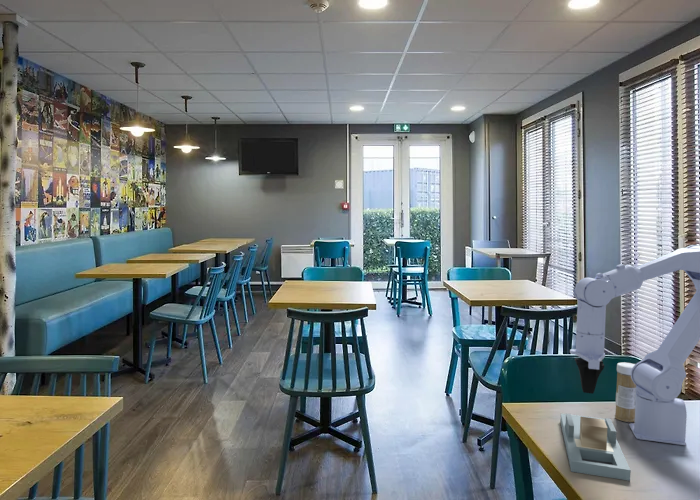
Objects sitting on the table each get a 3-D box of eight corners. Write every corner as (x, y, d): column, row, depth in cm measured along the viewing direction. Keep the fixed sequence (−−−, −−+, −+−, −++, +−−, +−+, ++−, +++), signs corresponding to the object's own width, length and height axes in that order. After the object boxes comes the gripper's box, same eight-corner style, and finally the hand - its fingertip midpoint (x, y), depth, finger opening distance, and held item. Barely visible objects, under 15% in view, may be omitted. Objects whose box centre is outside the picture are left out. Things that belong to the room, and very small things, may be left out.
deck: (607, 427, 116) (607, 408, 116) (630, 480, 92) (631, 456, 92) (560, 421, 119) (561, 403, 119) (571, 471, 95) (572, 448, 95)
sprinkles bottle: (619, 414, 124) (621, 360, 123) (639, 419, 121) (641, 365, 120) (611, 418, 121) (613, 363, 120) (631, 424, 118) (634, 368, 117)
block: (603, 440, 104) (604, 419, 104) (606, 450, 100) (607, 428, 100) (579, 437, 106) (580, 416, 105) (581, 446, 102) (582, 424, 101)
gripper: (567, 324, 119) (565, 380, 120) (574, 337, 106) (571, 400, 107) (600, 326, 117) (598, 383, 118) (611, 340, 103) (608, 405, 104)
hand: (587, 392), depth 112 cm, fingers closed
